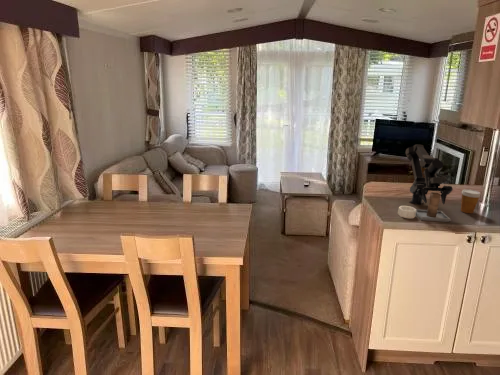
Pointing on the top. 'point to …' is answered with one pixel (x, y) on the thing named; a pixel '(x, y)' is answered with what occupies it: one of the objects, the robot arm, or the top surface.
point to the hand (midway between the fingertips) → (434, 203)
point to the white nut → (407, 212)
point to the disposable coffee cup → (469, 200)
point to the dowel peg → (433, 204)
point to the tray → (439, 217)
